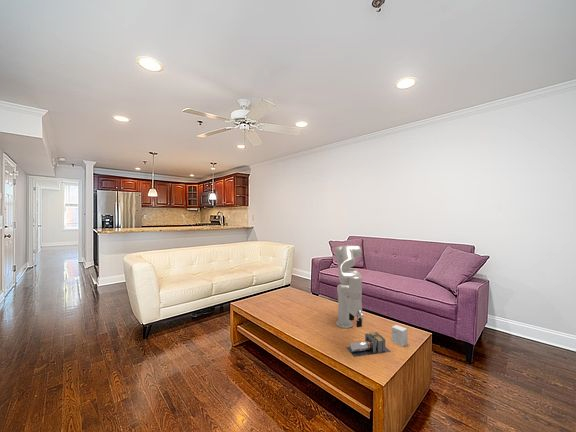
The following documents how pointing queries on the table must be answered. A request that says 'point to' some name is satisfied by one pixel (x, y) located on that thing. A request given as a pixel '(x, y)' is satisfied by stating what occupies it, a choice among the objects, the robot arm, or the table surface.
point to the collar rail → (372, 337)
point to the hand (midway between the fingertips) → (355, 323)
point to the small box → (399, 335)
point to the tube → (361, 346)
